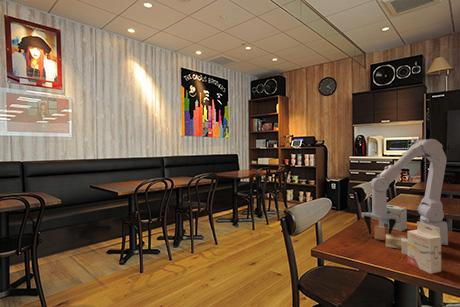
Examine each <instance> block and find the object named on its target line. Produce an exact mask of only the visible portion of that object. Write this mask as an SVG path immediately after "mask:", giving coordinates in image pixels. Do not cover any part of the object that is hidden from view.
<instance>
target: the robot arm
mask: <svg viewBox="0 0 460 307" xmlns="http://www.w3.org/2000/svg"><path fill="white" fill-rule="evenodd" d="M421 156H424V157H425V158H426V159H427V161H429V168H428V173H427V179H426V188H425V193H424V197H423V198H422V199H421V201H420V203H419V205H418V206H417V213H418V214H419V215H420V217H419V222H421V223H425V224H429V225H432V226H435V227H439V228H440V236H441V245H444V246H449V230H448V229H449V227H448V223H447V221H442V220H443V219H444V216H445V212H444V211H443V210H444V209H443V207H444V206H443V202H442V201H441V195H442V189H443V184H444V177H445V173H446V172H445V171H446V167H447V166H446V165H447V156H446V153H445V151H444V150H443V144H442V143H440V141H438V140H437V139H434V138H429V139H418V140H416V141H415V143H413V144H412V145H411V146H410V147H409V148H408V149H407V151H405V152H404V153H403V155H401V157H400V158H399V159H398V160H397V161H396V162H395V163H394V164H389V165H388V166H384V168H383V169H384V170H383V171H381V173H379V174H377V175H376V177H374V178H372V180H371V181H370V184H369V185H370V187H371V189H372V190H371V204H372V205H371V208H372V209H371V212H365V211H364V212H362V211H361V214H360V215H361V218H363V220H364V223H365V224H366V226H367V230H368V234H369V235H371V234H372V224H371V223H372V222H371V220H372V219H378V220H379V219H388V220H389V229H388V234H392V231H393V227H394V225H395V223H396V221H399V217H398V216H397V215H391V214H387V205H388V203H387V202H388V201H387V200H388V198H387V190H389V186H390V185H391V183H392V182H394V180H396V179H397V178H398V177H399V176H400V175H401V173H402V172H401V170H402V169H403V168H404V167H406V166H407V165H408V164H409V163H410V162H411V161H413V159H415V158H418V157H421ZM424 228H425V229H428V230H432V229H431V228H429V227H424Z"/></svg>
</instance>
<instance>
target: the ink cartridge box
mask: <svg viewBox="0 0 460 307" xmlns="http://www.w3.org/2000/svg"><path fill="white" fill-rule="evenodd" d="M416 226H417V229H412V230H407V239H408V255H407V264H409V265H411V266H413V267H415V268H418V269H419V270H421V271H423V272H426V273H428V274H436V273H440V272H442V244H441V236H440V228H439V227H435V226H432V225H429V224H425V223H421V222H420V221H416ZM424 227H429V228H431V229H432V230H428V229H425V228H424Z"/></svg>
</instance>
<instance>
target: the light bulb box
mask: <svg viewBox="0 0 460 307" xmlns="http://www.w3.org/2000/svg"><path fill="white" fill-rule="evenodd" d="M407 212H408V211H407V207H406V206H397V205H391V204H387V214H391V215H397V216H398V217H399V221H396V223H395V225H394V227H393V229H392V231H393V230H395V231H397V232H402V231H405V230H407V229H408V227H407V225H408V224H407V223H408V222H407ZM378 226H383V227H385V229H388V230H389V220H388V219H379V218H378Z"/></svg>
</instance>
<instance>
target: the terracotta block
mask: <svg viewBox="0 0 460 307" xmlns="http://www.w3.org/2000/svg"><path fill="white" fill-rule="evenodd" d="M374 240H381V241H386V228H385V227H383V226H379V225H374Z"/></svg>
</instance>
